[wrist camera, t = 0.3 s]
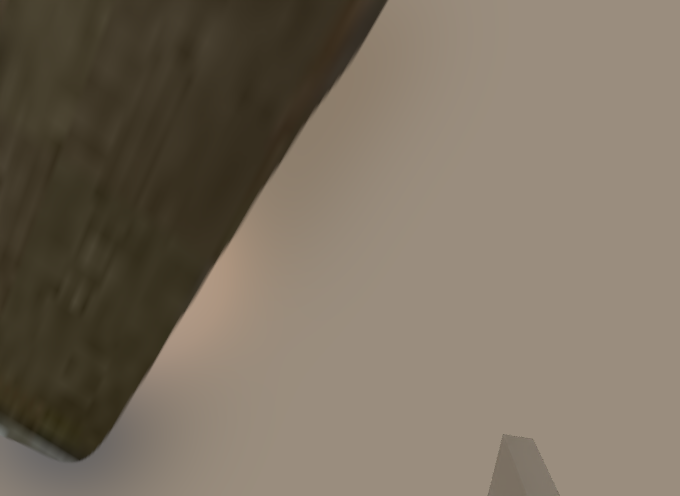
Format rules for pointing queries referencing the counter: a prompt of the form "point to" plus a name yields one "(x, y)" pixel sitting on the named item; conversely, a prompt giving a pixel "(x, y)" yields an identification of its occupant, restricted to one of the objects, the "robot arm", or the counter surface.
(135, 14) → the counter surface
